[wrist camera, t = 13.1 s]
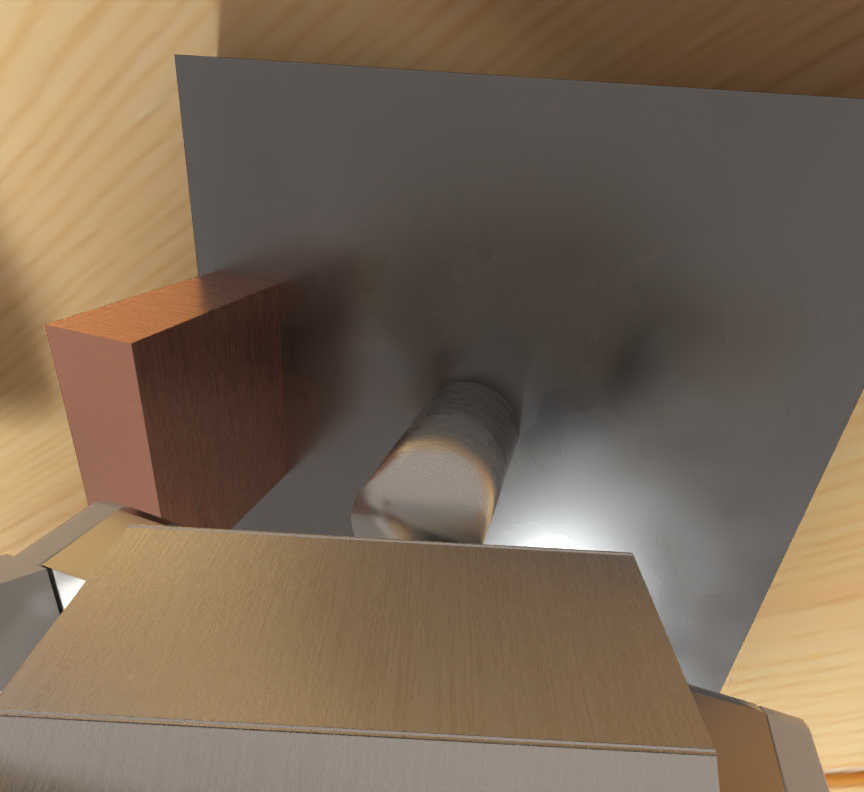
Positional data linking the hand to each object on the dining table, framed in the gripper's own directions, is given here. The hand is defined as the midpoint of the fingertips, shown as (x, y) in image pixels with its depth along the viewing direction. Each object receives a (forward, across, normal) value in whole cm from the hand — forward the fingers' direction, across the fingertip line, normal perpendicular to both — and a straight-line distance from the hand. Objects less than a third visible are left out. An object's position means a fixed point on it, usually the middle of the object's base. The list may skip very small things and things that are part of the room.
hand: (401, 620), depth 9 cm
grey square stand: (+8, 0, 0) cm, 8 cm away
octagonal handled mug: (-1, -4, +1) cm, 4 cm away
